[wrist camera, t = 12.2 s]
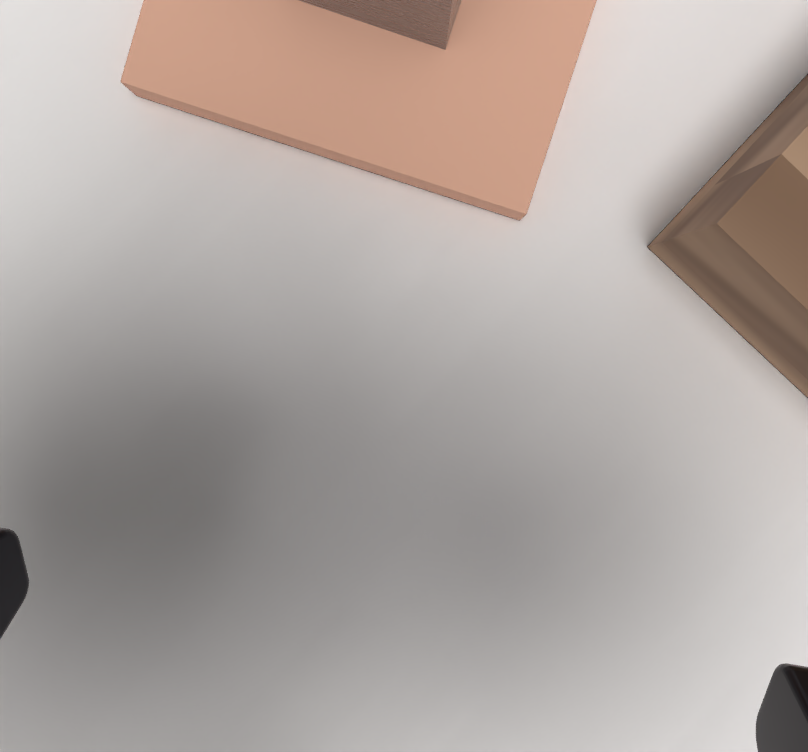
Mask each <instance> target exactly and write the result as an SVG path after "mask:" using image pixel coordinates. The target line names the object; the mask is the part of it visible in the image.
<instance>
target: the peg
mask: <svg viewBox="0 0 808 752" xmlns="http://www.w3.org/2000/svg"><path fill="white" fill-rule="evenodd" d="M299 1H302V2H305V3H308V4H311V5H314V6H317V7H320V8H323V9H326V10H329V11H332V12H334V13H337V14H340V15H343V16H346V17H349V18H352V19H355V20H358V21H361V22H364V23H367V24H370V25H373V26H376V27H379V28H382V29H385V30H388V31H391V32H394V33H397V34H400V35H403V36H406V37H409V38H412V39H415V40H417V41H420V42H423V43H426V44H429V45H432V46H435V47H438V48H441V49H444V50H446V47H447V44H448V41H449V38H450V34H451V31H452V28H453V25H454V22H455V19H456V16H457V13H458V10H459V7H460V4H461V0H299Z"/></svg>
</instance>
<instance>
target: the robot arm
mask: <svg viewBox="0 0 808 752" xmlns="http://www.w3.org/2000/svg"><path fill="white" fill-rule="evenodd" d="M28 586H29V579H28V574H27V570H26V566H25V562H24V558H23V554H22V550H21V546H20V541H19V538H18V536H17V535H16V534H15V532H14V531H12V530H10V529H6V528H0V639H1V637H2V636H3V634H4V632H5V631H6V629H7V627H8V626H9V624H10V622H11V621H12V619H13V617H14V616H15V614H16V613H17V611H18V609H19V608H20V606H21V604H22V603H23V601H24V599H25V597H26V594H27V591H28ZM756 741H757V748H758V752H808V667H804V666H798V665H793V664H780V665H779V666H778V667H777V668H776V669H775V671H774V673H773V675H772V678H771V680H770V683H769V686H768V688H767V691H766V694H765V696H764V699H763V702H762V704H761V707H760V710H759V712H758V716H757V721H756Z"/></svg>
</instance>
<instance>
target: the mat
mask: <svg viewBox="0 0 808 752" xmlns="http://www.w3.org/2000/svg"><path fill="white" fill-rule="evenodd" d="M596 1H597V0H461V4H460V7H459V10H458V13H457V16H456V19H455V22H454V25H453V28H452V31H451V34H450V38H449V41H448V44H447V47H446V50H444V49H441V48H438V47H435V46H432V45H429V44H426V43H423V42H420V41H417V40H415V39H412V38H409V37H406V36H403V35H400V34H397V33H394V32H391V31H388V30H385V29H382V28H379V27H376V26H373V25H370V24H367V23H364V22H361V21H358V20H355V19H352V18H349V17H346V16H343V15H340V14H337V13H334V12H332V11H329V10H326V9H323V8H320V7H317V6H314V5H311V4H308V3H305V2H302V1H299V0H144V1H143V5H142V8H141V12H140V15H139V19H138V22H137V26H136V29H135V33H134V36H133V40H132V43H131V47H130V50H129V54H128V57H127V61H126V64H125V68H124V71H123V75H122V78H121V83H122V84H124V85H125V86H126V87H127V88H128V89H129V90H130V91H132V92H133V93H134V94H135V95H136V96H139V97H142V98H145V99H148V100H151V101H154V102H157V103H160V104H163V105H167V106H170V107H173V108H176V109H179V110H182V111H185V112H188V113H191V114H194V115H197V116H200V117H203V118H206V119H210V120H213V121H216V122H219V123H222V124H225V125H228V126H231V127H234V128H237V129H240V130H243V131H246V132H250V133H253V134H256V135H259V136H262V137H265V138H268V139H271V140H274V141H277V142H280V143H283V144H286V145H289V146H293V147H296V148H299V149H302V150H305V151H308V152H311V153H314V154H317V155H320V156H323V157H326V158H329V159H332V160H336V161H339V162H342V163H345V164H348V165H351V166H354V167H357V168H360V169H363V170H366V171H369V172H372V173H375V174H379V175H382V176H385V177H388V178H391V179H394V180H397V181H400V182H403V183H406V184H409V185H412V186H415V187H418V188H422V189H425V190H428V191H431V192H434V193H437V194H440V195H443V196H446V197H449V198H452V199H455V200H458V201H461V202H465V203H468V204H471V205H474V206H477V207H480V208H483V209H486V210H489V211H492V212H495V213H498V214H501V215H504V216H508V217H511V218H514V219H517V220H521V219H522V218H523V217H524V216H525V215H526V214H527V211H528V208H529V205H530V202H531V199H532V195H533V192H534V189H535V186H536V183H537V180H538V177H539V174H540V171H541V168H542V165H543V162H544V159H545V156H546V153H547V150H548V147H549V144H550V141H551V138H552V135H553V132H554V129H555V125H556V122H557V119H558V116H559V113H560V110H561V107H562V104H563V101H564V98H565V95H566V92H567V89H568V86H569V83H570V80H571V77H572V74H573V71H574V68H575V65H576V62H577V59H578V56H579V52H580V49H581V46H582V43H583V40H584V37H585V34H586V31H587V28H588V25H589V22H590V19H591V16H592V13H593V10H594V7H595V4H596Z"/></svg>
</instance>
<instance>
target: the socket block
mask: <svg viewBox="0 0 808 752" xmlns="http://www.w3.org/2000/svg"><path fill="white" fill-rule="evenodd" d="M648 248H649V249H650V250H651V251H652V252H653V253H654V254H655V255H656V256H658V257H659V258H660V259H661V260H662V261H663V262H664V263H665V264H666V265H667V266H668V267H669V268H670V269H671V270H672V271H673V272H675V273H676V274H677V275H678V276H679V277H680V278H681V279H682V280H683V281H684V282H685V283H686V284H687V285H688V286H689V287H690V288H692V289H693V290H694V291H695V292H696V293H697V294H698V295H699V296H700V297H701V298H702V299H703V300H704V301H705V302H706V303H707V304H709V305H710V306H711V307H712V308H713V309H714V310H715V311H716V312H717V313H718V314H719V315H720V316H721V317H722V318H723V319H725V320H726V321H727V322H728V323H729V324H730V325H731V326H732V327H733V328H734V329H735V330H736V331H737V332H738V333H739V334H740V335H742V336H743V337H744V338H745V339H746V340H747V341H748V342H749V343H750V344H751V345H752V346H753V347H754V348H755V349H756V350H757V351H759V352H760V353H761V354H762V355H763V356H764V357H765V358H766V359H767V360H768V361H769V362H770V363H771V364H772V365H773V366H774V367H776V368H777V369H778V370H779V371H780V372H781V373H782V374H783V375H784V376H785V377H786V378H787V379H788V380H789V381H790V382H791V383H793V384H794V385H795V386H796V387H797V388H798V389H799V390H800V391H801V392H802V393H803V394H804V395H805V396H806V397H807V398H808V74H807V75H806V76H805V78H804V79H803V80H802V81H801V82H800V83H799V84H798V85H797V86H796V87H795V88H794V89H793V91H792V92H791V93H790V94H789V95H788V96H787V97H786V98H785V99H784V100H783V101H782V102H781V103H780V105H779V106H778V107H777V108H776V109H775V110H774V111H773V112H772V113H771V114H770V115H769V116H768V117H767V119H766V120H765V121H764V122H763V123H762V124H761V125H760V126H759V127H758V128H757V129H756V130H755V131H754V133H753V134H752V135H751V136H750V137H749V138H748V139H747V140H746V141H745V142H744V143H743V144H742V145H741V147H740V148H739V149H738V150H737V151H736V152H735V153H734V154H733V155H732V156H731V157H730V158H729V159H728V161H727V162H726V163H725V164H724V165H723V166H722V167H721V168H720V169H719V170H718V171H717V172H716V173H715V175H714V176H713V177H712V178H711V179H710V180H709V181H708V182H707V183H706V184H705V185H704V186H703V187H702V189H701V190H700V191H699V192H698V193H697V194H696V195H695V196H694V197H693V198H692V199H691V200H690V202H689V203H688V204H687V205H686V206H685V207H684V208H683V209H682V210H681V211H680V212H679V213H678V214H677V216H676V217H675V218H674V219H673V220H672V221H671V222H670V223H669V224H668V225H667V226H666V227H665V228H664V230H663V231H662V232H661V233H660V234H659V235H658V236H657V237H656V238H655V239H654V240H653V241H652V242H651V244H650V245H649V246H648Z"/></svg>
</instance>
